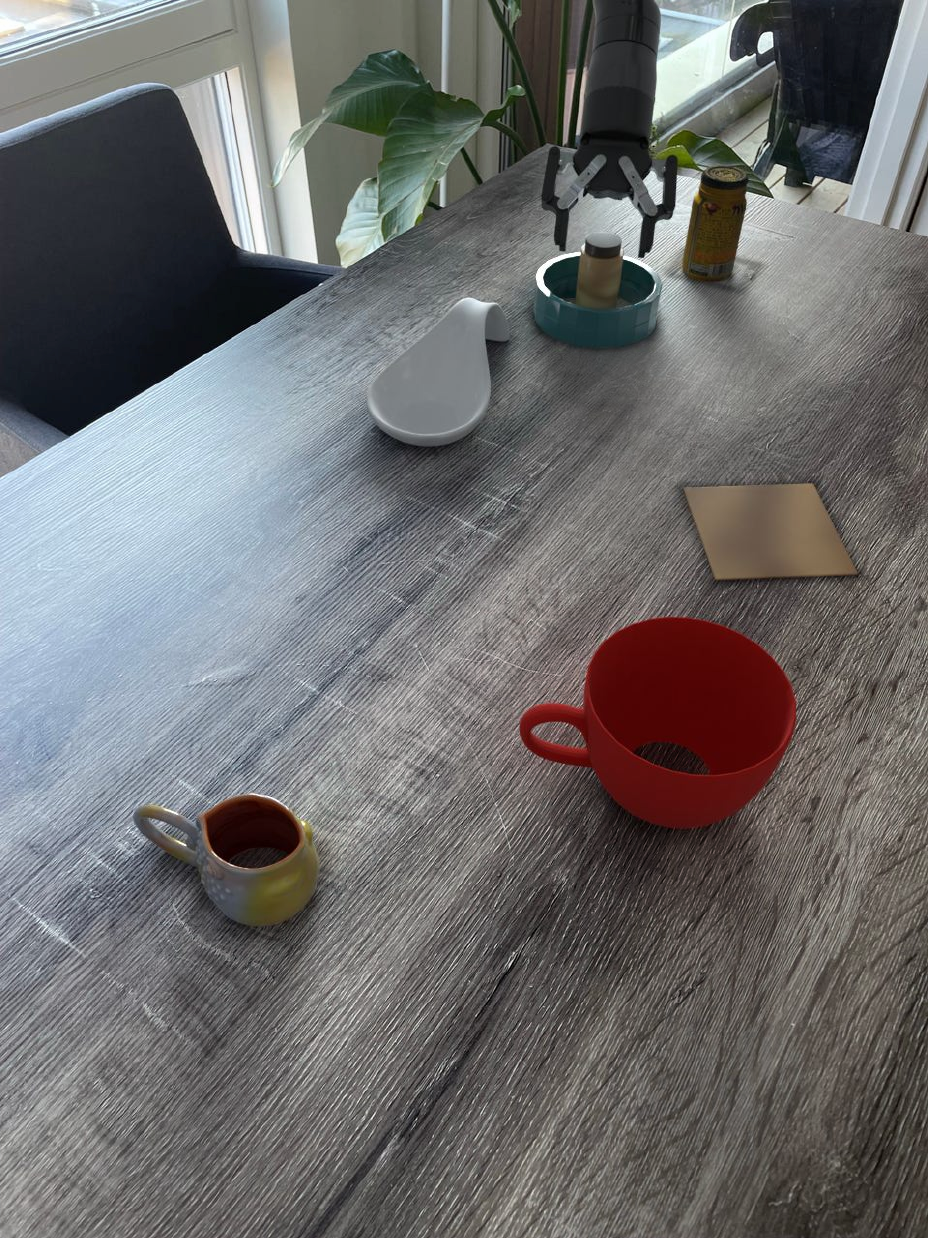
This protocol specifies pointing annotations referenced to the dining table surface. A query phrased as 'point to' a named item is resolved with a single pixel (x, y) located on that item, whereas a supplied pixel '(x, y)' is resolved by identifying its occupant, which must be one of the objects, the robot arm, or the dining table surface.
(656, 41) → the robot arm
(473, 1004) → the dining table surface
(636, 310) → the pot
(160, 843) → the mug
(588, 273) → the pepper mill
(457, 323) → the spoon rest
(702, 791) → the ceramic cup
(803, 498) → the plate
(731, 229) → the condiment
